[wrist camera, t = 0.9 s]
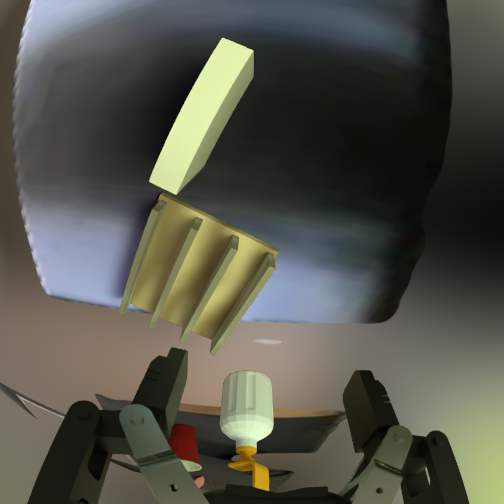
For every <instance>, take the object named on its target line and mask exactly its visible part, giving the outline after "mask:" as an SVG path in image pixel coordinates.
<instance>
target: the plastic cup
mask: <svg viewBox="0 0 504 504" xmlns="http://www.w3.org/2000/svg"><path fill="white" fill-rule="evenodd" d="M167 442H168V444H169V446H170V448H171V449H172V451H173V452H174V453H176V454H177V455H178V457H179V458H180V460H181V462H182V463H183V465H184V466H185V468H186V470H187V471H197V470H201V468H202V467H201V466H200V464H199V459H198V453H197V441H196V432H195V429H194V428H192V427H190V426H188V425H183V424H177V425H175V426H174V427H173V429H172V432H171V435H170V438H169V439H168V441H167Z"/></svg>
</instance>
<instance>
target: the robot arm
mask: <svg viewBox="0 0 504 504" xmlns="http://www.w3.org/2000/svg"><path fill="white" fill-rule="evenodd" d="M187 362H188V351H186V350H182V349H177V348H171V349H170V351H169V354H168V356H167V357H163V356H158V357H156V358H155V359H154V360H153V361H151V363H150V365H149V367H148V369H147V372H146V374H145V376H144V379H143V380H142V382H141V384H140V386H139V389H138V391H137V393H136V395H135V397H134V399H133V401H132V403H131V404H130V405H128V406H126V407H125V408H123V409H122V410H118V411H109V410H99V409H98V407H97V406H96V405H95V404H93V403H92V402H89V401H78V402H75V403H74V404H72V405H71V407H70V408H69V410H68V412H67V414H66V416H65V418H64V420H63V422H62V424H61V426H60V428H59V430H58V433H57V434H56V436H55V438H54V441H53V443H52V445H51V447H50V449H49V452H48V454H47V456H46V458H45V461H44V463H43V465H42V468H41V470H40V472H39V475H38V477H37V480H36V482H35V485H34V487H33V490H32V493H31V495H30V498H29V501H28V503H27V504H98V500H99V497H100V493H101V490H102V486H103V483H104V480H105V476H106V473H107V470H108V466H109V463H110V460H111V457H112V454H126V455H134V457H135V459H136V462H137V464H138V466H139V468H140V470H141V472H142V474H143V476H144V478H145V480H146V482H147V483H148V486H149V487H150V489H151V491H152V493H153V495H154V497H155V499H156V500H157V502H158V504H391V503H392V501H393V499H394V497H395V495H396V492H397V490H398V488H399V486H400V485H401V490H402V495H403V500H404V504H469V500H468V497H467V493H466V490H465V487H464V483H463V481H462V477H461V474H460V471H459V468H458V465H457V462H456V460H455V457H454V454H453V451H452V448H451V446H450V443H449V441H448V438H447V437H446V435H445V434H444V433H442V432H440V431H432V432H430V433H429V434H428V435H427V436H426V437H423V436H415V435H412V434H411V432H410V431H409V430H408V429H407V428H406V427H404V426H401V425H399V422H398V420H397V417H396V414H395V412H394V409H393V407H392V404H391V403H390V399H389V397H388V395H387V392H386V390H385V387H384V386H383V385H382V384H381V383H380V382H379V381H378V380H375V379H374V376H373V374H372V372H371V371H370V370H356V371H355V372H354V373H353V375H352V377H351V379H350V381H349V383H348V385H347V387H346V388H345V390H344V393H343V403H344V407H345V412H346V416H347V420H348V424H349V428H350V432H351V436H352V441H353V445H354V449H355V453H360V452H364V457H363V458H362V460H361V461H360V463H359V465H358V467H357V468H356V470H355V472H354V473H353V475H352V476H351V478H350V480H349V481H348V483H347V484H346V485H345V487H344V488H343V489H342V490H341V491H340V493H339V494H335V493H331V492H328V487H327V486H326V487H308V488H301V489H297V490H292V491H288V492H283V493H275V492H271V491H267V490H263V489H259V488H256V487H252V486H240V485H231V484H226V486H225V489H217V490H212V491H209V492H206V493H203V494H202V492H201V491H200V489H199V488H198V486H197V485H196V483H195V482H194V480H193V479H192V477H191V476H190V474H189V473H188V471H187V470H186V468H185V466H184V465H183V463H182V462H181V460H180V458H179V457H178V455H177V454H176V453H174V452H173V451H172V449H171V448H170V446H169V444H168V442H167V441H166V439H165V438H170V435H171V431H172V428H173V424H174V421H175V418H176V414H177V411H178V408H179V404H180V401H181V398H182V394H183V391H184V388H185V384H186V380H187V365H188V364H187ZM426 467H427V470H428V474H429V477H430V485H429V482H428V478H427V475H426V471H425V468H426Z"/></svg>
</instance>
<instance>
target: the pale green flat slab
mask: <svg viewBox="0 0 504 504" xmlns="http://www.w3.org/2000/svg"><path fill="white" fill-rule="evenodd" d="M253 77H254V55H253V50H251V49H248V48H246V47H244V46H241V45H239V44H237V43H234V42H232V41H230V40H227V39H225V38H222V39H221V41H220V42H219V44H218V46H217V47H216V49H215V50H214V52H213V54H212V55H211V57H210V58H209V60H208V62H207V63H206V65H205V67H204V69H203V70H202V72H201V74H200V75H199V77H198V79H197V81H196V83H195V84H194V86H193V88H192V90H191V92H190V94H189V95H188V97H187V99H186V101H185V103H184V105H183V107H182V109H181V111H180V113H179V115H178V117H177V119H176V121H175V123H174V125H173V127H172V129H171V131H170V133H169V136H168V138H167V140H166V142H165V144H164V147H163V149H162V151H161V153H160V156H159V158H158V160H157V163H156V165H155V167H154V170H153V172H152V175H151V177H150V180H149V182H151V183H153V184H155V185H157V186H159V187H161V188H163V189H165V190H167V191H169V192H171V193H173V194H177V193H178V192H179V191H180V190H181V189H182V188H183V187H184V186H185V185H186V184H187V183H188V182H189V181H190V180H191V179H192V178H193V177H194V176H195V175H196V174H197V173H198V172H199V171H200V170H201V169H202V168H203V167H204V165H205V163H206V161H207V159H208V157H209V155H210V153H211V151H212V149H213V147H214V145H215V144H216V142H217V140H218V138H219V136H220V134H221V132H222V130H223V129H224V127H225V125H226V123H227V121H228V119H229V118H230V116H231V114H232V112H233V111H234V109H235V107H236V105H237V104H238V102H239V100H240V98H241V97H242V95H243V93H244V92H245V90H246V88H247V87H248V85H249V83H250V82H251V80H252V78H253Z"/></svg>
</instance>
